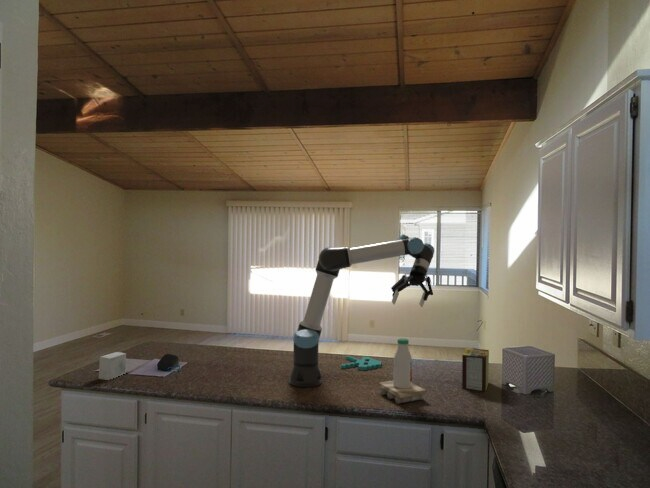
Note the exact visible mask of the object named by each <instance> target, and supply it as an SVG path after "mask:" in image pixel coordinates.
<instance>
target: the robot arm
mask: <svg viewBox="0 0 650 488" xmlns="http://www.w3.org/2000/svg"><path fill="white" fill-rule="evenodd" d="M434 254H435V248H434V246H433V245H431V244H430V243H424V242H423V240H422V239H421V238H419V237H416V236H415V237H409V236H408V235H406V234H404V233H403V234H401V235H400V236H399V237H398V238H397V239H396V240H392V241H387V242H386V241H385V242H379V243H375V244H369V245H363V246H357V247H350V248H349V247H348V246H345V247H344V246H343V247H335V246H334V247H333V246H327V247H325V248H323V249H322V250H321V251H320V252H319V255H318V261H317V264H316V267H315V272H316V277H315V280H314V285H313V286H312V287H313V288H312V291H311V295H310V298H309V302H308V304H307V308H306V312H305V315H304V318H303V320H302V321H300V322H299V325H298V326H297V327H298V328H297V331H295V332H294V334H293V338H292V339H293V340H292V341H293V357H292V358H293V360H292V361H293V362H292V365H293V366H292V369H291V371H290V375H289V380H288V382H289V384H290V385H291V386H293V387H298V388H312V387H317V386H320V385H321V384H322V382H323V381H322V380H323V379H322V378H323V377H322V374H321V371H320V368H319V344H320V343H319V342H320V337H321V334H322V331H323V328H322V327H321V323H322V320H323V317H324V314H325V310H326V307H327V303H328V299H329V297H330V293H331V289H332V286H333V282H334V280H335V279H336V278H338V276H339V273H340V270H342V269H346V268H350V267H352V266H353V265H355V264H356V265H357V264H361V263H367V262H372V261H373V262H374V261H379V260H384V259H390V258H396V257H402V256H408V255H409V256H411V257H412V258H413V259H414V262H413V264H412V267H411V270H410V272H409V275H408V276H406V274H403V275H402V276H401V278H400V279H399V280H398V281H396V283H394V284H393V286H392V287H390V289H391V291H392V292H393V293H392V299H391V303H392V304H393V305H396V303H397V300H398V298H399V294H400V292H402V291H403V290H404V289H406V288H408V287H411V286H416V287H419V286H420V288H421V290H422V295H421V298H420V301H419V305H420V308H423V307H424V304H425V301H426V302H427V300H428V298H429V296H433V295H434V292H433V288H432V285H431V282H432V281H431V277H430V276H429V275H428V276H427V274H428V270H429V268H430V265H431V263H432V260H433V257H434ZM424 282H425V283H426V284H427V287H428V289H427V288H426V286H425V284H424Z"/></svg>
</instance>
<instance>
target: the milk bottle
mask: <svg viewBox="0 0 650 488" xmlns="http://www.w3.org/2000/svg"><path fill="white" fill-rule="evenodd" d="M392 375H393V378H392V381H393V385H394V387H396V388H400V389H408V388H411V386H412V382H413V380H412V379H413V360H412V355H411V353H410V350H409V339H407V338H398V339H397V349H396V351H395V353H394V357H393V373H392Z"/></svg>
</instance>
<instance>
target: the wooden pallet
mask: <svg viewBox="0 0 650 488" xmlns="http://www.w3.org/2000/svg"><path fill="white" fill-rule="evenodd" d="M378 387H379V388H380V389H379V393H380V395H381V396H384V395H386V396H387V398H388V400H394V402H395V404H397V405H399V404H402V403H403V404H405V403H409V402H416V401H419V400H420V401H421V400H425V397H426V396H425V395H426V394H427V389H425V388H423V387H420V386H419V385H416V384H415V383H412V386H411V388H408V389H400V388H396V387H394V385H393V380H388V381H381V382H380V381H379V382H378Z"/></svg>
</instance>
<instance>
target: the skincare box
mask: <svg viewBox="0 0 650 488" xmlns="http://www.w3.org/2000/svg"><path fill="white" fill-rule="evenodd" d="M98 361H99V364H98V365H99V367H98V379H99V380H105V381H110V379H111V380H113V378H114V379H116V377H117V378H119V377H118V376H120V377H122V376H124V375H123V374H125V375H126V369H127V367H126V365H127V352H126V353H125V352H120V351H114V352H112V353H107V354H105V355H101V356H99V360H98ZM121 375H122V376H121Z"/></svg>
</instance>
